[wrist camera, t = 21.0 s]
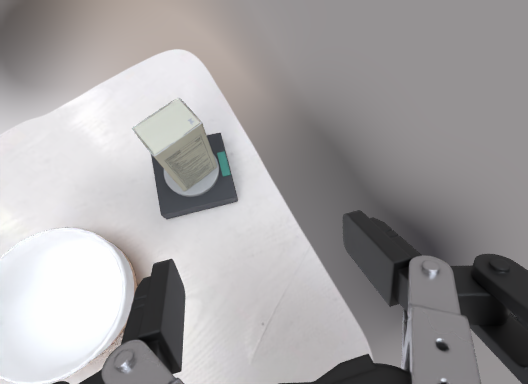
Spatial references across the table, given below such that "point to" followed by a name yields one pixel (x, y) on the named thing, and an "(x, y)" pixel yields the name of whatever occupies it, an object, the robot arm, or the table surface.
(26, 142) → the table surface
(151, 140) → the cosmetic box
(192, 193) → the scale
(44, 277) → the bowl
